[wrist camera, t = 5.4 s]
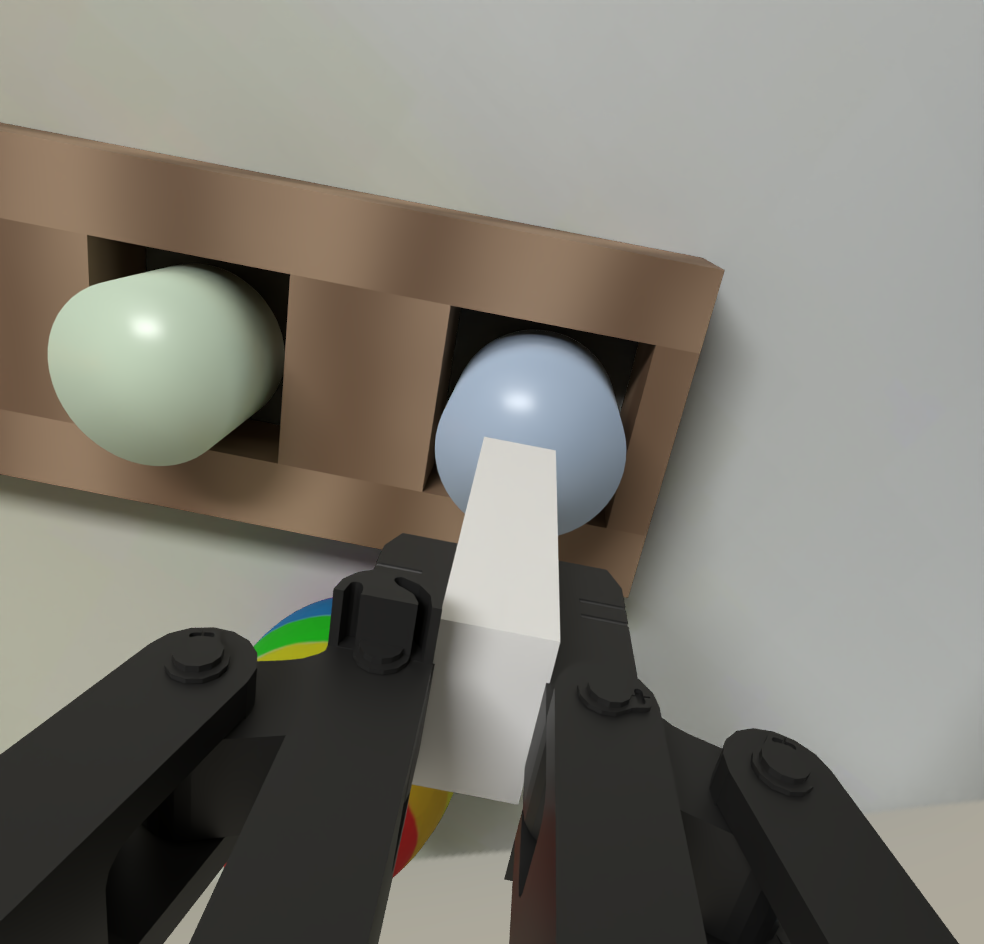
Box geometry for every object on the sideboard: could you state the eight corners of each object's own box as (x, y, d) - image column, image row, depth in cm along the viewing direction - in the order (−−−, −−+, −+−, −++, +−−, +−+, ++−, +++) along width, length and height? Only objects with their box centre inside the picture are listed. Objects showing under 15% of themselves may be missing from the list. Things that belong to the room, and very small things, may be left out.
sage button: (289, 280, 21) (237, 301, 17) (279, 435, 23) (230, 481, 19) (126, 248, 21) (41, 263, 17) (129, 406, 23) (53, 447, 19)
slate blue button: (633, 347, 21) (648, 381, 17) (594, 497, 22) (601, 554, 19) (467, 314, 21) (450, 342, 17) (443, 467, 22) (422, 519, 19)
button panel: (702, 258, 21) (724, 270, 18) (620, 551, 25) (627, 598, 22) (-224, 79, 21) (-339, 65, 19) (-164, 397, 25) (-252, 424, 23)
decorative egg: (227, 618, 28) (61, 840, 18) (402, 527, 25) (315, 726, 16) (347, 766, 30) (255, 1028, 21) (518, 694, 28) (498, 951, 19)
